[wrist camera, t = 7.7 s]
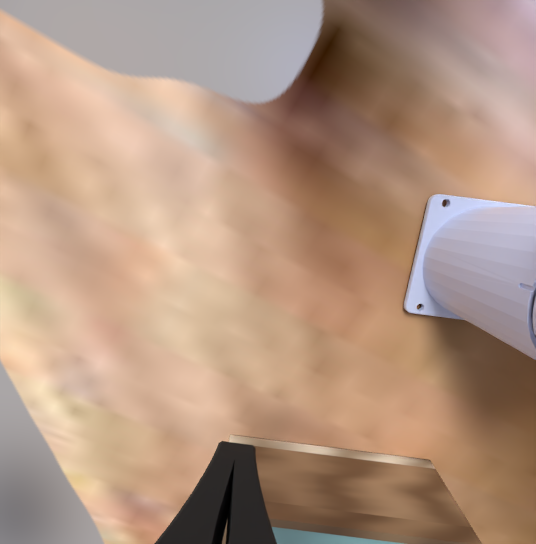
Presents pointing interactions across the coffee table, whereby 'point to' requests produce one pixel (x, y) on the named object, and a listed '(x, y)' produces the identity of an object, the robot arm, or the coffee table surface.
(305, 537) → the lid
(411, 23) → the coffee table surface
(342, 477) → the box
